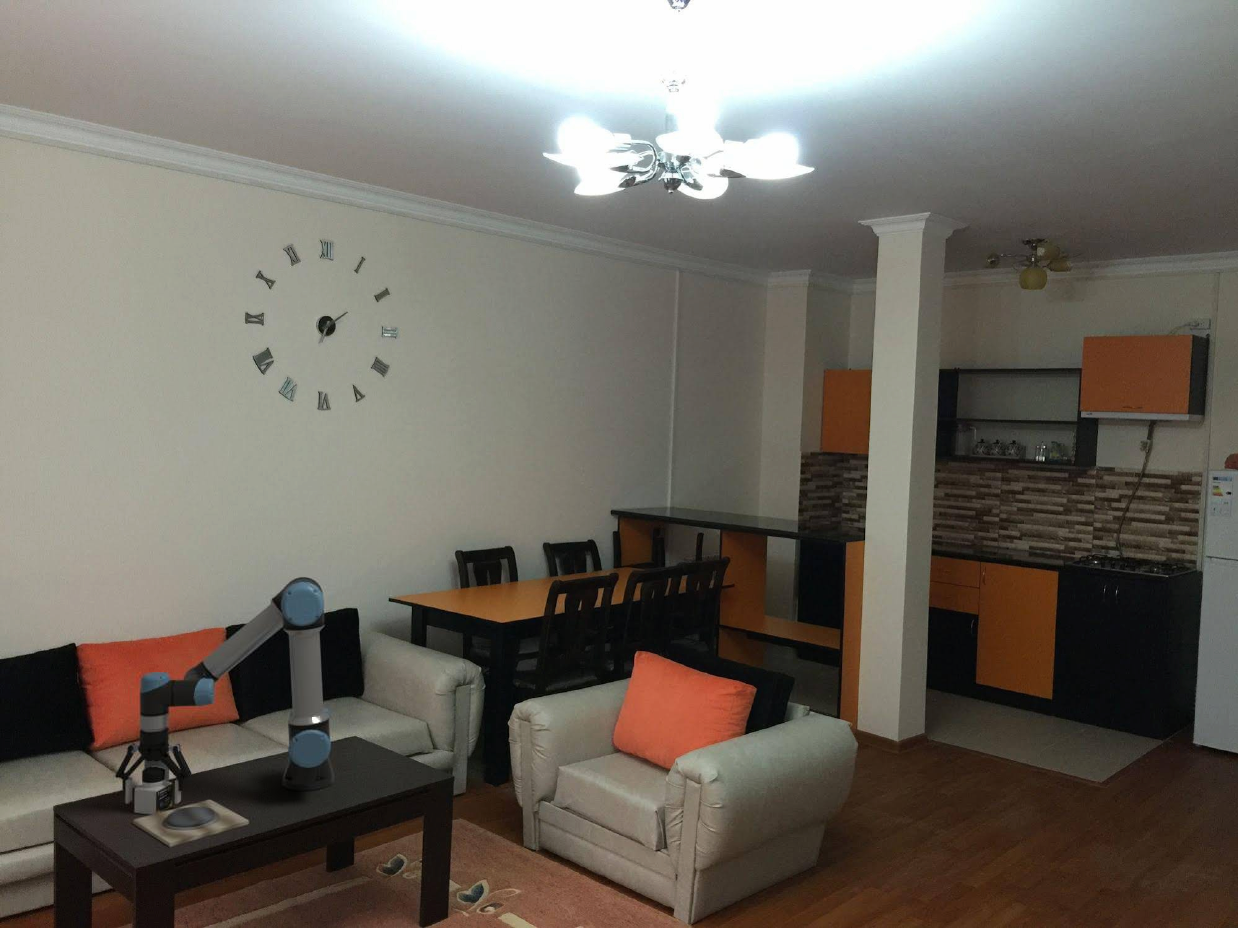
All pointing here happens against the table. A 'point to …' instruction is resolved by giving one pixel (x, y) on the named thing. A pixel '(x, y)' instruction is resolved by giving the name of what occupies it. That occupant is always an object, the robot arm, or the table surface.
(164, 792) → the medicine bottle
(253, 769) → the table surface
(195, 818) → the square wooden board
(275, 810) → the table surface
